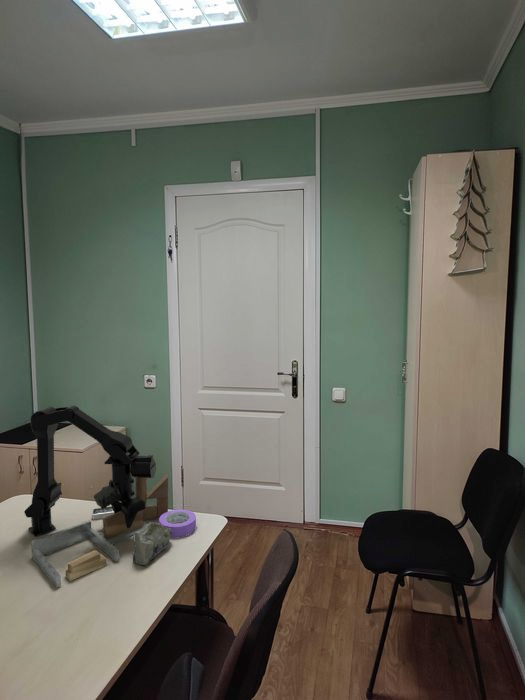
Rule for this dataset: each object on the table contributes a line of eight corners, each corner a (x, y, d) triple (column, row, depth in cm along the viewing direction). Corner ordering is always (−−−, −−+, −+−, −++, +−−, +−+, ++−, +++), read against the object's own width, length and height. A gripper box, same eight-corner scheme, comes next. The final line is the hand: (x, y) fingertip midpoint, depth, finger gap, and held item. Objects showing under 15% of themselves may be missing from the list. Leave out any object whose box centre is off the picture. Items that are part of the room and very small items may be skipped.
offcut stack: (65, 575, 120) (64, 562, 119) (101, 560, 127) (100, 547, 126) (70, 581, 117) (69, 567, 117) (107, 565, 124) (106, 552, 124)
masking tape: (193, 517, 152) (193, 507, 151) (198, 535, 140) (198, 523, 140) (158, 522, 148) (158, 511, 148) (160, 540, 137) (159, 529, 137)
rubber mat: (97, 535, 140) (97, 534, 140) (137, 519, 150) (137, 518, 150) (108, 545, 134) (108, 544, 134) (150, 528, 144) (150, 527, 144)
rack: (32, 557, 128) (31, 541, 128) (90, 535, 140) (89, 520, 139) (57, 587, 115) (55, 569, 114) (119, 560, 127) (118, 543, 126)
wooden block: (167, 518, 151) (168, 466, 149) (134, 521, 148) (134, 468, 146) (167, 513, 154) (167, 462, 153) (134, 516, 151) (135, 464, 150)
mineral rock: (170, 539, 138) (169, 508, 137) (182, 556, 128) (181, 523, 127) (127, 551, 132) (126, 518, 130) (136, 570, 122) (135, 535, 121)
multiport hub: (93, 515, 154) (92, 508, 154) (136, 509, 158) (136, 502, 158) (92, 521, 150) (92, 514, 150) (137, 514, 154) (136, 508, 154)
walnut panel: (103, 536, 139) (102, 517, 138) (138, 522, 147) (137, 505, 147) (107, 539, 137) (107, 521, 136) (143, 525, 145) (142, 508, 144)
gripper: (83, 475, 141) (86, 522, 143) (111, 493, 128) (113, 545, 129) (116, 466, 149) (118, 510, 150) (145, 482, 135) (147, 531, 137)
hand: (123, 524), depth 142 cm, fingers open, 6 cm apart
